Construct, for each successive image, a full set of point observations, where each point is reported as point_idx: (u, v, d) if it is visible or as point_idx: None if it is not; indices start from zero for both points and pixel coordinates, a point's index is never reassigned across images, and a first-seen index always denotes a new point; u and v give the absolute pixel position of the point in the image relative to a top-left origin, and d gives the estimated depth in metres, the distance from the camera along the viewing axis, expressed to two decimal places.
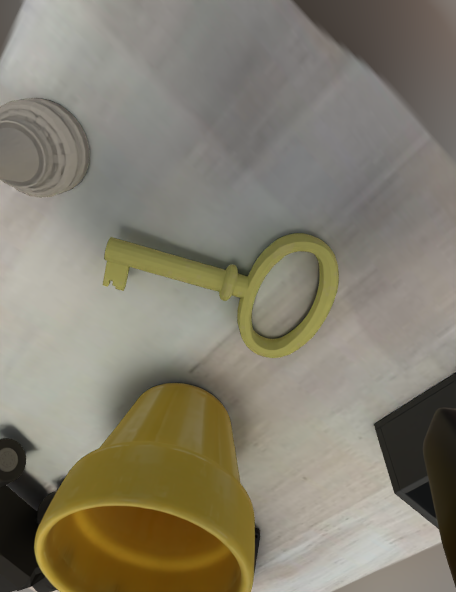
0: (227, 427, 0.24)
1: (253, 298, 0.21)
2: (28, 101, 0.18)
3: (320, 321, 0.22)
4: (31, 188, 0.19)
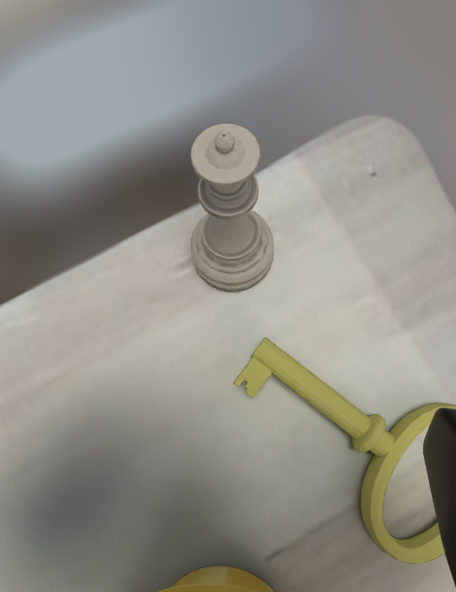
0: None
1: (397, 459, 0.18)
2: None
3: None
4: (219, 266, 0.20)
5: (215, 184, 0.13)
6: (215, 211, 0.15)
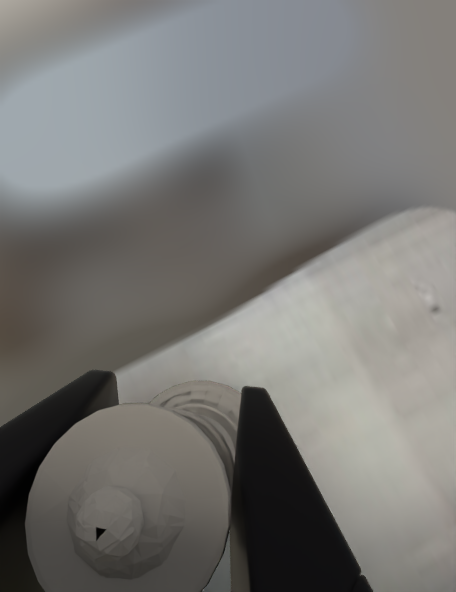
0: None
1: None
2: (234, 391, 0.12)
3: None
4: None
5: None
6: None
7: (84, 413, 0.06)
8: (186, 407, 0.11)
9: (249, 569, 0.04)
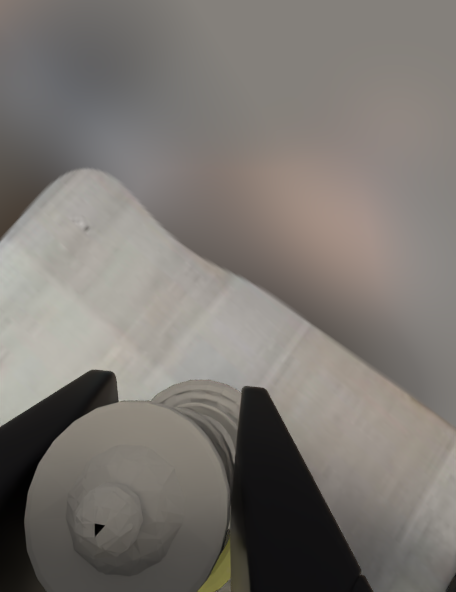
0: None
1: None
2: (234, 389, 0.12)
3: None
4: None
5: None
6: None
7: (84, 413, 0.06)
8: (186, 406, 0.11)
9: (249, 569, 0.04)
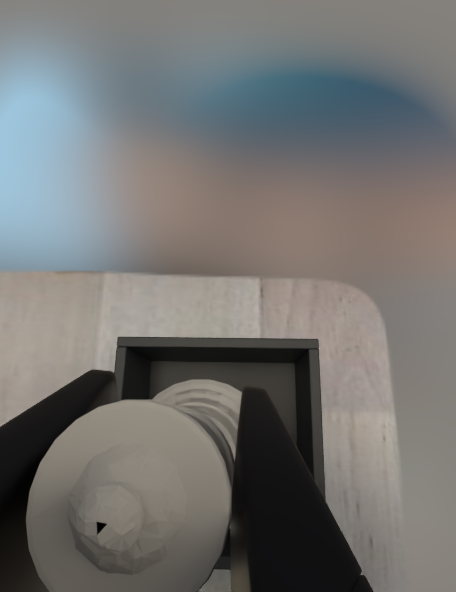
0: None
1: None
2: (234, 389, 0.12)
3: None
4: None
5: None
6: None
7: (84, 413, 0.06)
8: (186, 405, 0.11)
9: (249, 569, 0.04)
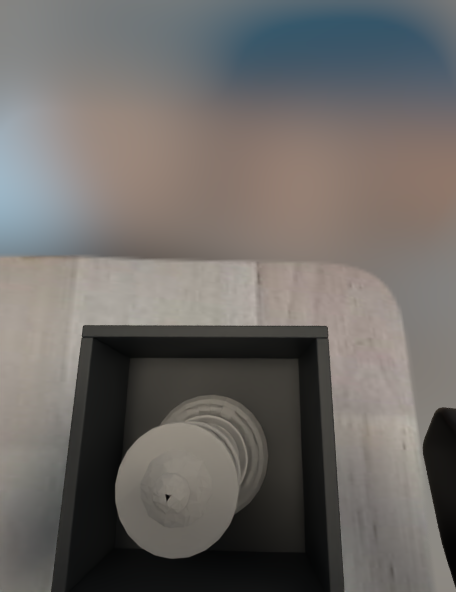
0: None
1: None
2: (232, 401, 0.15)
3: None
4: None
5: (161, 555, 0.07)
6: None
7: None
8: (196, 418, 0.14)
9: None
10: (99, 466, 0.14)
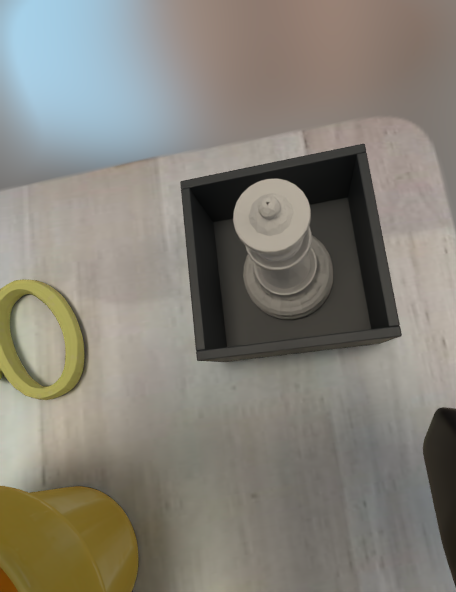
0: (79, 492, 0.20)
1: (3, 356, 0.23)
2: None
3: (70, 325, 0.23)
4: (281, 301, 0.19)
5: (268, 253, 0.12)
6: (270, 267, 0.14)
7: None
8: None
9: None
10: (208, 284, 0.19)
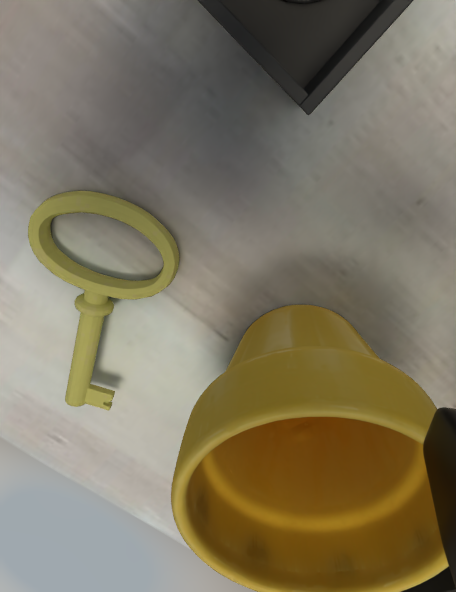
0: (270, 322, 0.19)
1: (98, 285, 0.20)
2: None
3: (123, 209, 0.19)
4: None
5: None
6: None
7: None
8: None
9: None
10: None
